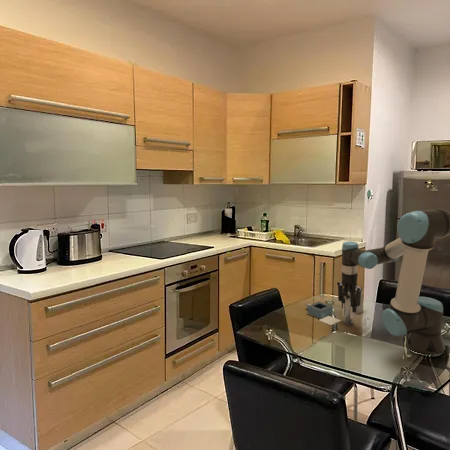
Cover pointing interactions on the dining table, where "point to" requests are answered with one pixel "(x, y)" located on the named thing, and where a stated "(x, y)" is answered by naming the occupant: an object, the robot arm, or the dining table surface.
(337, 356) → the dining table surface
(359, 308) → the mug
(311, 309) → the grey-blue open box
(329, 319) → the mat
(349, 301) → the key
